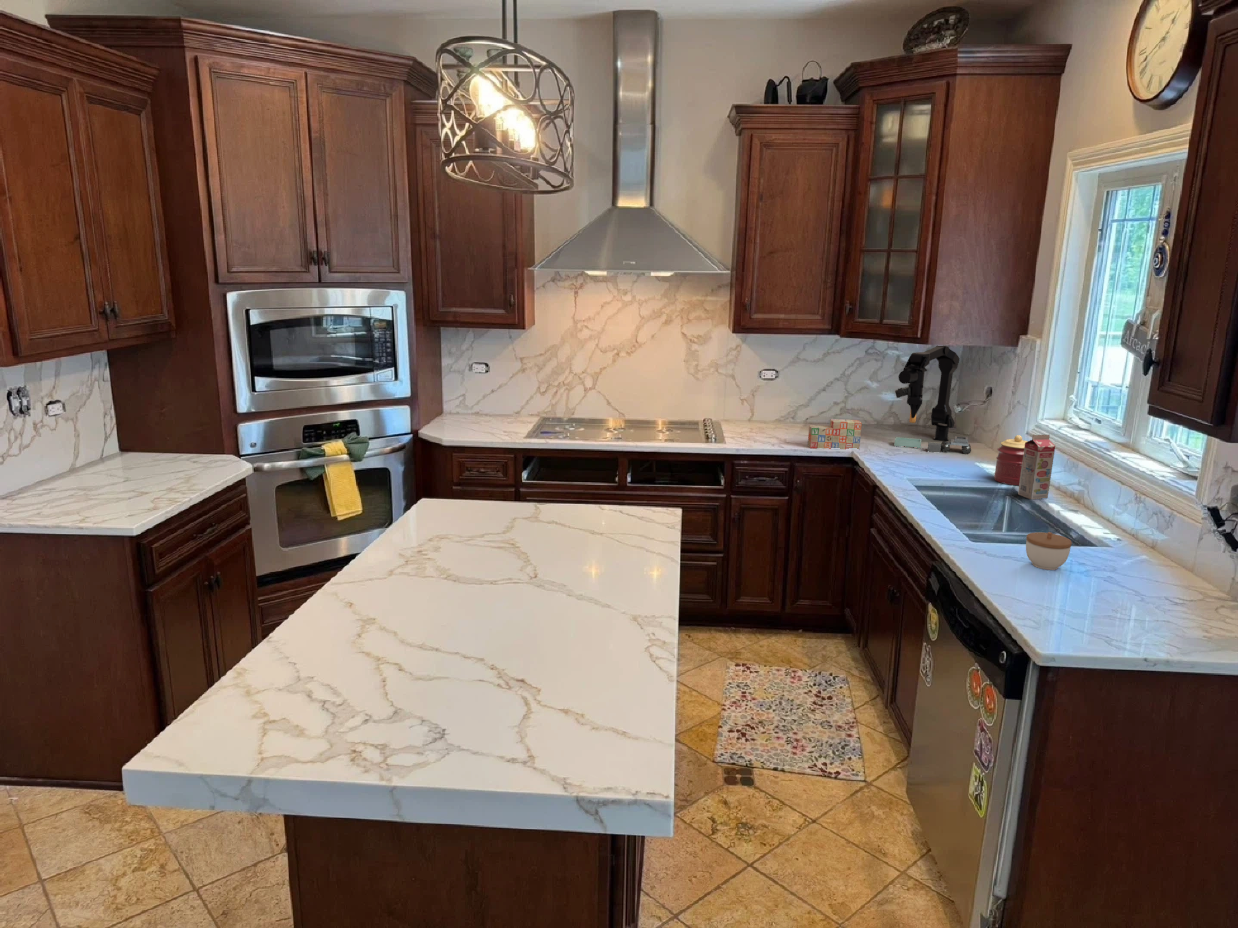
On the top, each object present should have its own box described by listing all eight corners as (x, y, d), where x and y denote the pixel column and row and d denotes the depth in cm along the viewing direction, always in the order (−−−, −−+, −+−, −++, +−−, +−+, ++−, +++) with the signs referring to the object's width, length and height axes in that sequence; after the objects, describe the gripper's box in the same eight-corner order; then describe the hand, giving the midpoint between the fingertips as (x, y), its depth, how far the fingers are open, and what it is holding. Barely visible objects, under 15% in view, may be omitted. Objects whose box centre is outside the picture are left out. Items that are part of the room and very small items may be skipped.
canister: (1010, 487, 301) (1017, 439, 296) (985, 478, 313) (991, 432, 308) (1039, 484, 304) (1046, 438, 300) (1014, 476, 316) (1020, 431, 312)
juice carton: (1018, 494, 291) (1026, 433, 286) (1034, 493, 292) (1042, 432, 287) (1031, 499, 285) (1039, 437, 279) (1047, 498, 286) (1056, 436, 281)
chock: (927, 450, 360) (928, 442, 359) (939, 451, 358) (940, 443, 357) (927, 452, 356) (928, 444, 355) (940, 453, 354) (940, 445, 353)
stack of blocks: (809, 448, 358) (812, 420, 355) (807, 445, 364) (809, 418, 361) (859, 450, 357) (862, 422, 354) (856, 447, 363) (858, 419, 360)
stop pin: (909, 421, 365) (911, 405, 363) (915, 422, 364) (917, 406, 362) (909, 422, 363) (910, 406, 361) (915, 423, 362) (917, 407, 360)
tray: (894, 443, 371) (895, 437, 371) (920, 445, 368) (921, 439, 367) (894, 446, 365) (894, 439, 365) (920, 448, 362) (921, 442, 361)
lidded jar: (1018, 566, 220) (1023, 533, 218) (1028, 556, 228) (1032, 523, 226) (1063, 576, 213) (1068, 542, 211) (1071, 565, 222) (1076, 532, 219)
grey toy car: (940, 448, 363) (941, 434, 362) (970, 451, 359) (971, 437, 357) (940, 452, 356) (941, 438, 354) (970, 454, 352) (972, 440, 350)
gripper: (897, 378, 370) (894, 412, 374) (896, 383, 353) (892, 419, 357) (924, 379, 367) (920, 414, 370) (924, 385, 350) (920, 421, 353)
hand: (912, 417), depth 363 cm, fingers closed on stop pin, 3 cm apart
